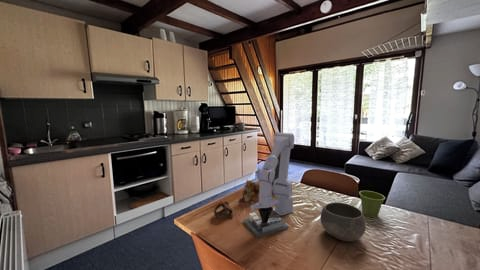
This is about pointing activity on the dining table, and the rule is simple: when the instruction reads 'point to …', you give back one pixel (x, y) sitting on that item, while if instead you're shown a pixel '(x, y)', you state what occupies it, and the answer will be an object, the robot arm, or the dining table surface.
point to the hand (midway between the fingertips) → (264, 221)
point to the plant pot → (371, 203)
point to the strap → (268, 221)
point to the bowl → (343, 221)
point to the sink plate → (266, 226)
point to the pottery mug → (224, 210)
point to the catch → (253, 217)
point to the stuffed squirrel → (250, 192)
